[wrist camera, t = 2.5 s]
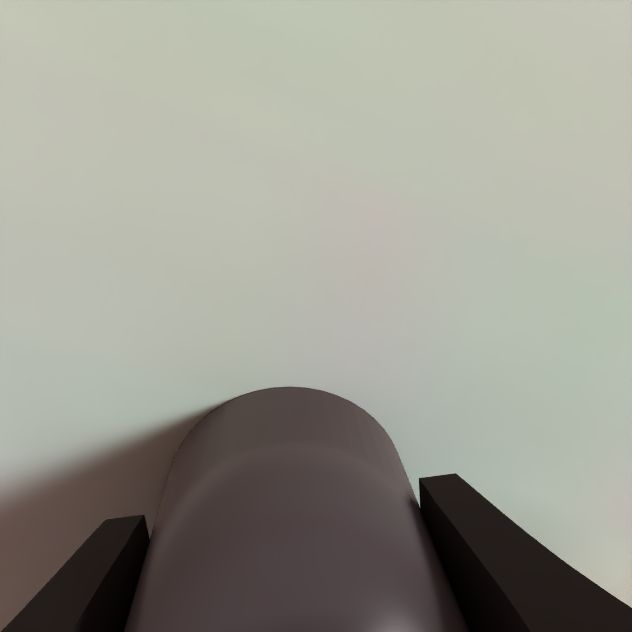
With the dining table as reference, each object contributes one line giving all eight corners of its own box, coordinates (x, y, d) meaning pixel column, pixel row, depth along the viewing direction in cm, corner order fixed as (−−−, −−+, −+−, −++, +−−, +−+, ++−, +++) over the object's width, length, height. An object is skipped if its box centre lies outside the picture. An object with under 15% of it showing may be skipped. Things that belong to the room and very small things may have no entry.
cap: (188, 604, 11) (129, 960, 7) (146, 403, 10) (32, 664, 5) (409, 574, 12) (512, 897, 7) (397, 372, 10) (515, 595, 5)
